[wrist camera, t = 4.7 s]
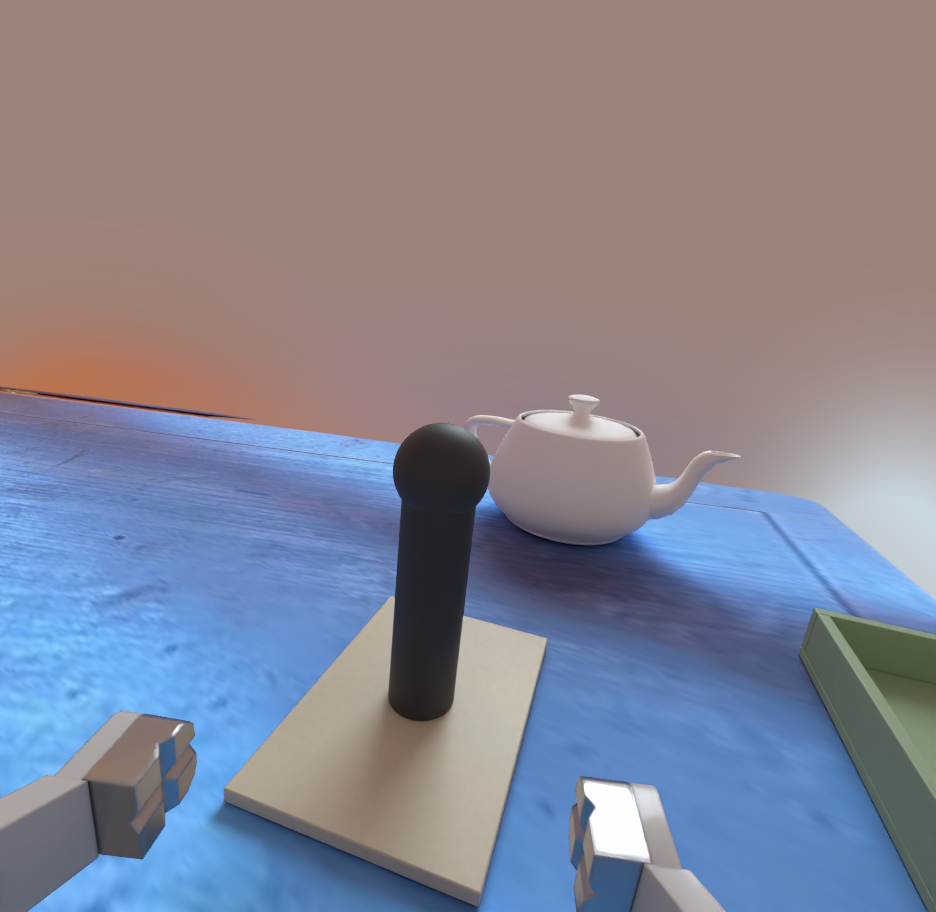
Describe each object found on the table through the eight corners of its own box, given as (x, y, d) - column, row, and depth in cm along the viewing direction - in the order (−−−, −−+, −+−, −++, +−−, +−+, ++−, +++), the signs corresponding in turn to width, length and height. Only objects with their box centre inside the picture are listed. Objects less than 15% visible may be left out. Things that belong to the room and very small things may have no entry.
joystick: (478, 908, 15) (538, 511, 12) (223, 802, 17) (207, 442, 14) (546, 647, 27) (585, 413, 24) (389, 604, 29) (404, 385, 26)
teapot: (418, 513, 42) (428, 382, 39) (490, 473, 54) (502, 370, 51) (706, 605, 33) (749, 443, 30) (718, 533, 45) (750, 411, 42)
